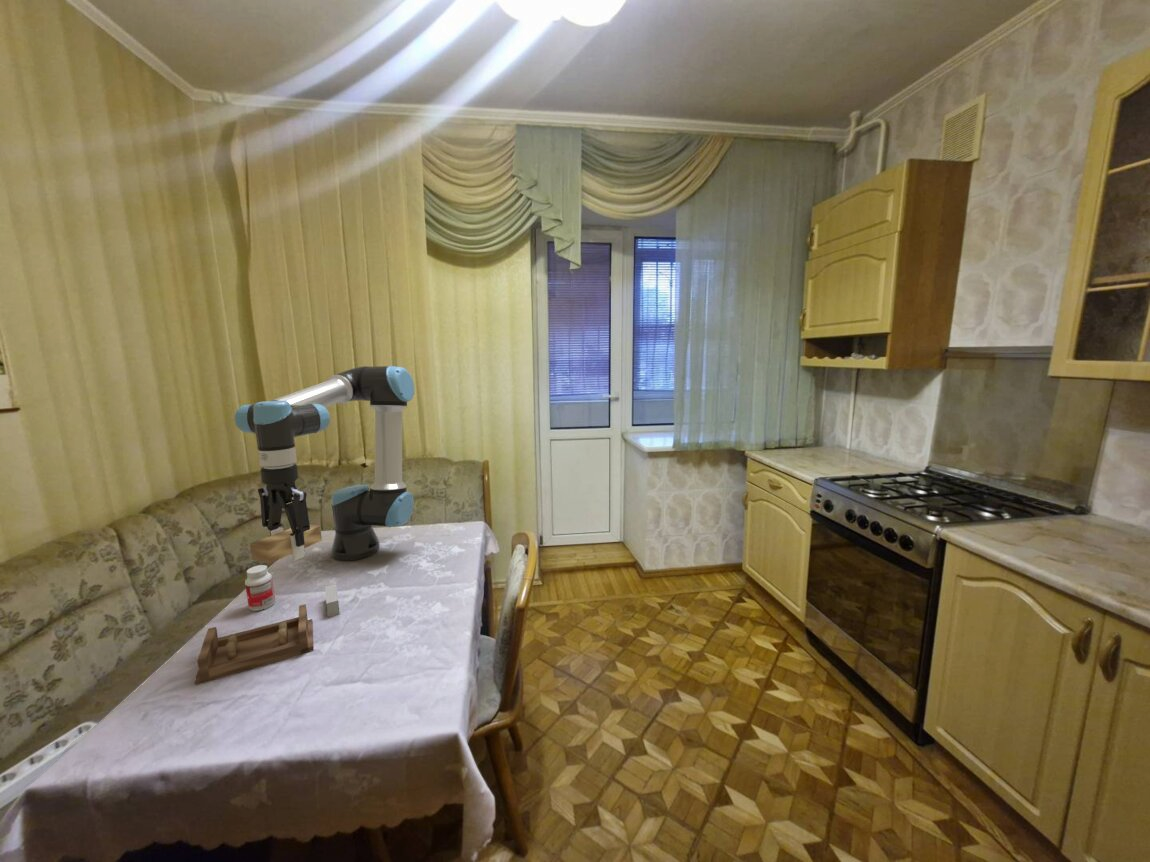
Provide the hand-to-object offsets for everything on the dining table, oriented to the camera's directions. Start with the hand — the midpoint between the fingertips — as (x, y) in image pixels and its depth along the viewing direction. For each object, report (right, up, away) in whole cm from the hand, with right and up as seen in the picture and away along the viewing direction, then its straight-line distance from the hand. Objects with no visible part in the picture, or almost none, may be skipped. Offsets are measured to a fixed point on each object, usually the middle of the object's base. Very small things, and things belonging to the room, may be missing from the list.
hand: (289, 555), depth 114 cm
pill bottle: (-16, -18, +14) cm, 28 cm away
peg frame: (-4, -21, -5) cm, 22 cm away
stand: (+4, -18, +13) cm, 22 cm away
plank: (0, +2, 0) cm, 2 cm away
